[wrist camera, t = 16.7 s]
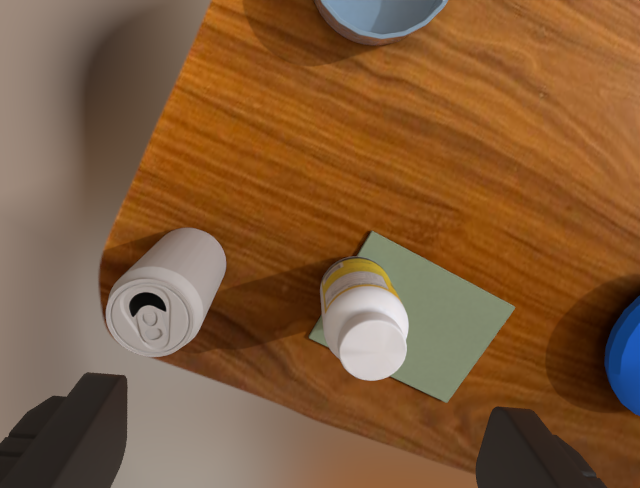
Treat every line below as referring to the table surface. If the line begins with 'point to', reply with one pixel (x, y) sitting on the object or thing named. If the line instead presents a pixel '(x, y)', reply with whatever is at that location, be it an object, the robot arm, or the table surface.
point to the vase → (625, 357)
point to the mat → (434, 318)
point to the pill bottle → (363, 318)
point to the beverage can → (166, 293)
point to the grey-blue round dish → (378, 18)
